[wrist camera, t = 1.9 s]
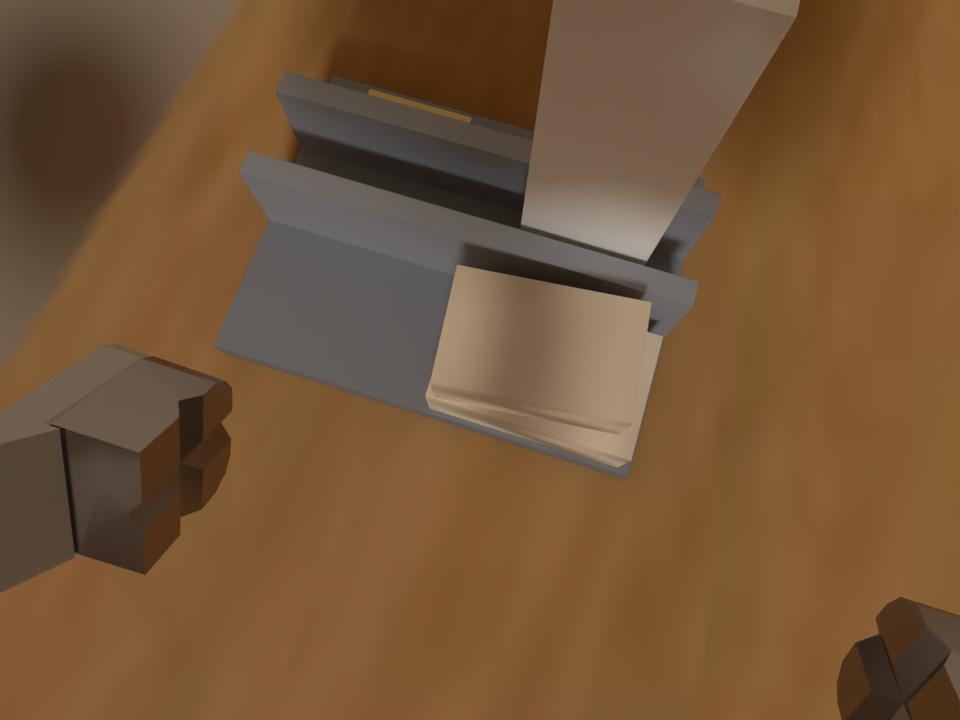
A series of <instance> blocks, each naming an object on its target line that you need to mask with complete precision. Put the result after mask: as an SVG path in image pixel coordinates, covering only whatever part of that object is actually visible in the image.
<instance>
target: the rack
mask: <svg viewBox="0 0 960 720" xmlns="http://www.w3.org/2000/svg"><path fill="white" fill-rule="evenodd" d="M276 93H277V95H278V98H279V100H280V102H281V104H282V107H283V109H284V111H285V113H286V116H287V118H288V120H289V122H290V125H291V127H292V129H293V131H294V134H295V136H296V138H297V140H298V143H299V145H300V147H301V148H300V150H299V153H298V155H297V157H296V159H295V162H294V163H290V162H287V161H284V160H280V159H277V158H273V157H270V156H266V155H263V154H260V153H256V152H253V151H248V153H247V155H246V157H245V159H244V162H243V164H242V166H241V168H240V170H239V173H240V175H241V177H242V178H243V180H244V181H245V183H246V184H247V186H248V187H249V189H250V191H251V192H252V194H253V195H254V197H255V198H256V200H257V202H258V203H259V205H260V206H261V208H262V209H263V211H264V212H265V214H266V216H267V217H268V219H269V221H268V223H267V226H266V228H265V230H264V233H263V235H262V237H261V239H260V242H259V244H258V246H257V249H256V251H255V253H254V255H253V258H252V260H251V262H250V265H249V267H248V269H247V271H246V274H245V276H244V278H243V281H242V283H241V285H240V288H239V290H238V292H237V294H236V297H235V299H234V301H233V304H232V306H231V308H230V310H229V313H228V315H227V317H226V320H225V322H224V324H223V326H222V329H221V331H220V333H219V336H218V338H217V340H216V342H215V345H214V346H215V347H217V348H218V349H219V350H221V351H222V352H224V353H228V354H231V355H234V356H237V357H240V358H243V359H247V360H250V361H253V362H256V363H259V364H262V365H266V366H269V367H272V368H275V369H278V370H281V371H285V372H288V373H291V374H294V375H297V376H300V377H304V378H307V379H310V380H313V381H316V382H319V383H323V384H326V385H329V386H332V387H335V388H338V389H341V390H345V391H348V392H351V393H354V394H357V395H360V396H364V397H367V398H370V399H373V400H376V401H379V402H383V403H386V404H389V405H392V406H395V407H398V408H402V409H405V410H408V411H411V412H414V413H417V414H421V415H424V416H427V417H430V418H433V419H436V420H440V421H443V422H446V423H449V424H452V425H455V426H459V427H462V428H465V429H468V430H471V431H474V432H477V433H481V434H484V435H487V436H490V437H493V438H496V439H500V440H503V441H506V442H509V443H512V444H515V445H519V446H522V447H525V448H528V449H531V450H534V451H538V452H541V453H544V454H547V455H550V456H553V457H557V458H560V459H563V460H566V461H569V462H572V463H576V464H579V465H582V466H585V467H588V468H591V469H595V470H598V471H601V472H604V473H607V474H610V475H614V476H617V477H620V478H626V477H628V476H629V472H630V468H631V464H632V460H633V456H634V452H635V448H636V445H637V441H638V437H639V433H640V429H641V425H642V421H643V417H644V413H645V410H646V406H647V402H648V398H649V394H650V390H651V386H652V382H653V378H654V375H655V371H656V367H657V363H658V359H659V355H660V351H661V347H662V343H663V340H664V337H665V336H666V335H667V334H668V333H669V332H670V331H671V330H672V329H673V328H674V326H675V325H676V324H677V323H678V322H679V321H680V320H681V319H682V318H683V317H684V316H685V315H686V314H687V312H688V311H689V310H690V309H691V308H692V307H693V305H694V301H695V297H696V293H697V289H698V285H699V282H698V281H694V280H691V279H687V278H684V277H681V276H680V273H681V270H682V266H683V262H684V258H685V257H686V256H687V254H688V253H689V252H690V250H691V249H692V248H693V246H694V245H695V244H696V242H697V241H698V240H699V238H700V237H701V236H702V234H703V233H704V231H705V230H706V229H707V227H708V226H709V225H710V223H711V222H712V221H713V219H714V218H715V217H716V213H717V209H718V205H719V201H720V197H721V194H720V193H716V192H712V191H709V190H705V189H702V188H703V184H704V180H705V179H703V178H699V177H698V179H697V180H696V182H695V184H694V185H693V187H692V189H691V190H690V192H689V193H688V195H687V197H686V198H685V200H684V202H683V203H682V205H681V207H680V208H679V210H678V211H677V213H676V215H675V216H674V218H673V220H672V221H671V223H670V224H669V226H668V228H667V229H666V231H665V233H664V234H663V236H662V237H661V239H660V241H659V242H658V244H657V246H656V247H655V249H654V251H653V252H652V254H651V255H650V257H649V259H648V260H647V262H646V264H645V265H644V266H643V265H640V264H636V263H633V262H629V261H626V260H622V259H619V258H616V257H612V256H609V255H605V254H602V253H598V252H595V251H592V250H588V249H585V248H581V247H578V246H574V245H571V244H568V243H564V242H561V241H557V240H554V239H551V238H547V237H544V236H540V235H537V234H533V233H530V232H527V231H523V230H520V227H521V220H522V213H523V206H524V199H525V192H526V185H527V179H528V172H529V165H530V158H531V151H532V144H533V137H534V131H532V130H528V129H525V128H521V127H518V126H514V125H511V124H507V123H504V122H500V121H496V120H493V119H489V118H486V117H482V116H479V115H475V114H471V113H468V112H464V111H461V110H457V109H454V108H450V107H447V106H443V105H439V104H436V103H432V102H429V101H425V100H422V99H418V98H414V97H411V96H407V95H404V94H400V93H397V92H393V91H390V90H386V89H382V88H379V87H375V86H372V85H368V84H365V83H361V82H357V81H354V80H350V79H347V78H343V77H340V76H336V75H332V77H331V79H330V82H329V83H326V82H322V81H319V80H315V79H312V78H308V77H304V76H301V75H297V74H294V73H290V72H287V71H285V72H284V75H283V77H282V79H281V81H280V83H279V85H278V88H277V90H276ZM457 265H461V266H466V267H472V268H477V269H482V270H487V271H492V272H497V273H503V274H508V275H513V276H518V277H523V278H528V279H534V280H539V281H544V282H549V283H554V284H559V285H565V286H570V287H575V288H580V289H585V290H590V291H596V292H601V293H606V294H611V295H616V296H621V297H627V298H632V299H637V300H642V301H647V302H652V303H651V309H650V316H649V323H648V330H647V332H650V333H653V334H656V335H660V336H663V339H662V343H661V347H660V351H659V355H658V359H657V363H656V367H655V370H654V374H653V378H652V382H651V386H650V390H649V394H648V398H647V401H646V405H645V409H644V413H643V417H642V421H641V425H640V429H639V433H638V436H637V440H636V444H635V448H634V452H633V456H632V460H631V461H630V462H628V463H626V464H624V465H622V466H620V467H618V468H617V467H613V466H610V465H607V464H604V463H601V462H598V461H594V460H591V459H588V458H585V457H582V456H579V455H575V454H572V453H569V452H566V451H563V450H559V449H556V448H553V447H550V446H547V445H544V444H540V443H537V442H534V441H531V440H528V439H525V438H521V437H518V436H515V435H512V434H509V433H506V432H502V431H499V430H496V429H493V428H490V427H487V426H483V425H480V424H477V423H474V422H471V421H467V420H464V419H461V418H458V417H455V416H452V415H448V414H445V413H442V412H439V411H436V410H433V409H429V406H428V403H427V400H426V397H425V395H426V392H427V389H428V386H429V383H430V380H431V376H432V371H433V367H434V363H435V358H436V354H437V350H438V345H439V341H440V336H441V332H442V328H443V323H444V319H445V315H446V310H447V306H448V302H449V297H450V293H451V289H452V284H453V280H454V276H455V271H456V267H457Z"/></svg>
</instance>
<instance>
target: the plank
mask: <svg viewBox="0 0 960 720" xmlns="http://www.w3.org/2000/svg"><path fill="white" fill-rule="evenodd" d="M799 4H800V0H553V5H552V12H551V19H550V26H549V33H548V40H547V47H546V54H545V61H544V68H543V74H542V81H541V88H540V95H539V102H538V109H537V116H536V123H535V130H534V137H533V144H532V151H531V158H530V165H529V172H528V179H527V185H526V192H525V199H524V206H523V213H522V220H521V227H520V230H523V231H527V232H530V233H533V234H537V235H540V236H544V237H547V238H551V239H554V240H557V241H561V242H564V243H568V244H571V245H574V246H578V247H581V248H585V249H588V250H592V251H595V252H598V253H602V254H605V255H609V256H612V257H616V258H619V259H622V260H626V261H629V262H633V263H636V264H640V265H643V266H644V265H645V264H646V262H647V260H648V259H649V257H650V255H651V254H652V252H653V251H654V249H655V247H656V246H657V244H658V242H659V241H660V239H661V237H662V236H663V234H664V233H665V231H666V229H667V228H668V226H669V224H670V223H671V221H672V220H673V218H674V216H675V215H676V213H677V211H678V210H679V208H680V207H681V205H682V203H683V202H684V200H685V198H686V197H687V195H688V193H689V192H690V190H691V189H692V187H693V185H694V184H695V182H696V180H697V179H698V177H699V176H700V174H701V172H702V171H703V169H704V167H705V166H706V164H707V162H708V161H709V159H710V158H711V156H712V154H713V153H714V151H715V149H716V148H717V146H718V145H719V143H720V141H721V140H722V138H723V136H724V135H725V133H726V131H727V130H728V128H729V127H730V125H731V123H732V122H733V120H734V118H735V117H736V115H737V114H738V112H739V110H740V109H741V107H742V105H743V104H744V102H745V101H746V99H747V97H748V96H749V94H750V92H751V91H752V89H753V87H754V86H755V84H756V83H757V81H758V79H759V78H760V76H761V74H762V73H763V71H764V70H765V68H766V66H767V65H768V63H769V61H770V60H771V58H772V56H773V55H774V53H775V52H776V50H777V48H778V47H779V45H780V43H781V42H782V40H783V39H784V37H785V35H786V34H787V32H788V30H789V29H790V27H791V26H792V24H793V22H794V21H795V19H796V17H797V13H798V8H799Z"/></svg>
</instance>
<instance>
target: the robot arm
mask: <svg viewBox="0 0 960 720" xmlns="http://www.w3.org/2000/svg"><path fill="white" fill-rule="evenodd" d="M231 411H232V388H231V386H230V385H229V384H228V383H227V382H226V381H224V380H221V379H218V378H215V377H213V376H210V375H207V374H204V373H201V372H198V371H195V370H192V369H189V368H186V367H183V366H181V365H178V364H175V363H172V362H169V361H166V360H163V359H160V358H157V357H154V356H149V355H147V354H144V353H141V352H138V351H135V350H132V349H129V348H126V347H123V346H120V345H117V344H112V345H103V346H101V347H100V348H98V349H96V350H95V351H93V352H92V353H90V354H89V355H87V356H86V357H84V358H82V359H81V360H79V361H78V362H76V363H75V364H73V365H72V366H70V367H68V368H67V369H65V370H64V371H62V372H61V373H59V374H58V375H56V376H54V377H53V378H51V379H50V380H48V381H47V382H45V383H44V384H42V385H41V386H39V387H37V388H36V389H34V390H33V391H31V392H30V393H28V394H27V395H25V396H23V397H22V398H20V399H19V400H17V401H16V402H14V403H13V404H11V405H9V406H8V407H6V408H5V409H3V410H2V409H0V593H1V592H4V591H6V590H8V589H10V588H12V587H14V586H16V585H18V584H20V583H22V582H25V581H27V580H29V579H31V578H33V577H35V576H37V575H39V574H41V573H43V572H46V571H48V570H50V569H52V568H54V567H56V566H58V565H60V564H62V563H65V562H67V561H69V560H71V559H73V558H75V553H76V554H79V555H83V556H86V557H89V558H92V559H95V560H99V561H102V562H105V563H108V564H111V565H115V566H118V567H121V568H124V569H127V570H131V571H134V572H137V573H140V574H143V575H146V574H147V572H148V571H149V570H150V569H151V568H152V567H153V565H154V564H155V563H156V562H157V561H158V560H159V558H160V557H161V556H162V555H163V554H164V553H165V552H166V550H167V549H168V548H169V547H170V546H171V545H172V543H173V542H174V541H175V540H176V539H177V538H178V537H179V535H180V517H183V516H185V515H188V514H191V513H193V512H196V511H199V510H201V509H202V508H203V507H204V506H205V505H206V504H207V502H208V501H209V500H210V499H211V497H212V496H213V495H214V494H215V492H216V490H217V488H218V486H219V484H220V482H221V480H222V478H223V477H224V475H225V473H226V469H227V465H228V461H229V457H230V449H231V438H230V436H229V435H228V433H227V431H226V430H225V428H224V426H223V425H222V423H221V422H222V421H223V420H224V419H225V417H226V416H227V415H228V414H229V413H230V412H231ZM876 622H877V627H878V632H879V634H878V635H875V636H873V637H870V638H867V639H864V640H861V641H858V642H856V643H855V644H854V646H853V647H852V648H851V650H850V651H849V653H848V654H847V655H846V657H845V658H844V660H843V661H842V665H841V669H840V673H839V677H838V681H837V701H838V706H839V710H840V714H841V718H842V720H960V615H957V614H953V613H950V612H947V611H944V610H941V609H938V608H934V607H931V606H928V605H925V604H922V603H918V602H915V601H912V600H909V599H906V598H902V597H900V598H898V599H896V600H894V601H892V602H889V603H887V605H886V606H885V607H884V608H883V609H882V611H881V612H880V613H879V614H878V615H877V617H876Z"/></svg>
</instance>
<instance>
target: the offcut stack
mask: <svg viewBox="0 0 960 720" xmlns="http://www.w3.org/2000/svg"><path fill="white" fill-rule="evenodd" d="M651 303H652V302H647V301H642V300H637V299H632V298H627V297H621V296H616V295H611V294H606V293H601V292H596V291H590V290H585V289H580V288H575V287H570V286H565V285H559V284H554V283H549V282H544V281H539V280H534V279H528V278H523V277H518V276H513V275H508V274H503V273H497V272H492V271H487V270H482V269H477V268H472V267H466V266H461V265H457V267H456V271H455V276H454V280H453V284H452V289H451V293H450V297H449V302H448V306H447V310H446V315H445V319H444V323H443V328H442V332H441V336H440V341H439V345H438V350H437V354H436V358H435V363H434V367H433V371H432V376H431V380H430V383H429V386H428V389H427V392H426V395H425V397H426V400H427V403H428V406H429V409H433V410H436V411H439V412H442V413H445V414H448V415H452V416H455V417H458V418H461V419H464V420H467V421H471V422H474V423H477V424H480V425H483V426H487V427H490V428H493V429H496V430H499V431H502V432H506V433H509V434H512V435H515V436H518V437H521V438H525V439H528V440H531V441H534V442H537V443H540V444H544V445H547V446H550V447H553V448H556V449H559V450H563V451H566V452H569V453H572V454H575V455H579V456H582V457H585V458H588V459H591V460H594V461H598V462H601V463H604V464H607V465H610V466H613V467H617V468H618V467H620V466H622V465H624V464H626V463H628V462H630V461H631V460H632V456H633V452H634V448H635V444H636V440H637V436H638V433H639V429H640V425H641V421H642V417H643V413H644V409H645V405H646V401H647V398H648V394H649V390H650V386H651V382H652V378H653V374H654V370H655V367H656V363H657V359H658V355H659V351H660V347H661V343H662V339H663V336H660V335H656V334H653V333H650V332H647V330H648V323H649V316H650V309H651Z"/></svg>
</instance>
